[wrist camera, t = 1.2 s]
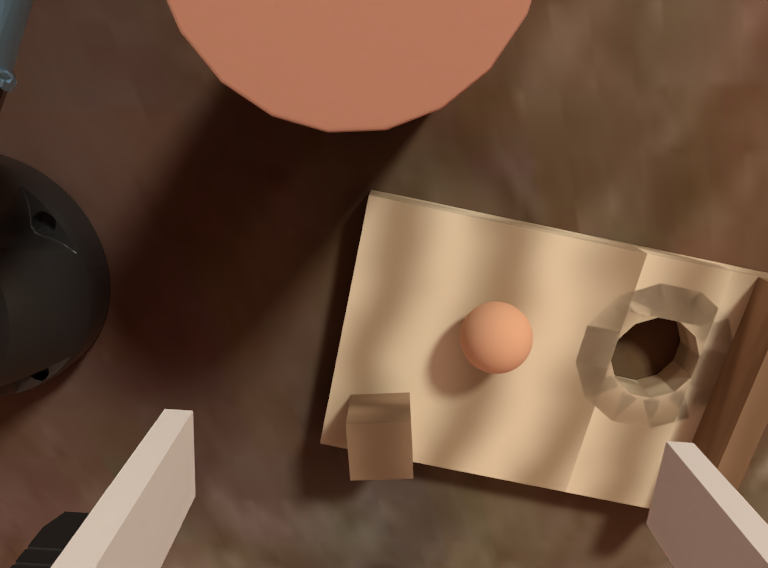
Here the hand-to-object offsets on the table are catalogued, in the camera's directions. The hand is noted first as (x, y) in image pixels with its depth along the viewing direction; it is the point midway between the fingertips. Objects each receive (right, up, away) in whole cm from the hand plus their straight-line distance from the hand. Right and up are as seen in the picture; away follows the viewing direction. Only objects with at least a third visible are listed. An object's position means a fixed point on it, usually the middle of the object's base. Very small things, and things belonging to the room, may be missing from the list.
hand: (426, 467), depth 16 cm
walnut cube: (-1, -3, +20) cm, 20 cm away
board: (+9, +1, +21) cm, 23 cm away
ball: (+5, +2, +16) cm, 17 cm away
